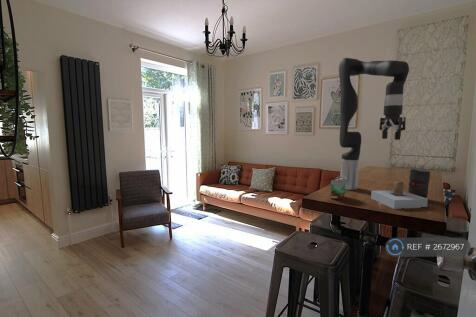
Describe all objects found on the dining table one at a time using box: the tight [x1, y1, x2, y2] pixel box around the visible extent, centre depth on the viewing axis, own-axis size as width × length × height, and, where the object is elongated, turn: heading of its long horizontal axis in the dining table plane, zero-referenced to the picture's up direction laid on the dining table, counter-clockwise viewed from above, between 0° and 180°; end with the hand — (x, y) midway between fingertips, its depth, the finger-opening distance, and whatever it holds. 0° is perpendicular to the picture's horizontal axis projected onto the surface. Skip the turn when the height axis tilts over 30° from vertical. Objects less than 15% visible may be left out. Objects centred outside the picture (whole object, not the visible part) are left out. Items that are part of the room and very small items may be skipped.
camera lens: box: [407, 168, 431, 198], centre depth 122 cm, size 8×8×15 cm
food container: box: [330, 175, 347, 200], centre depth 126 cm, size 12×6×10 cm, turn 143°
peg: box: [393, 180, 404, 196], centre depth 117 cm, size 4×4×10 cm
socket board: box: [370, 189, 429, 210], centre depth 118 cm, size 16×16×4 cm
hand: (390, 139), depth 119 cm, fingers open, 8 cm apart
